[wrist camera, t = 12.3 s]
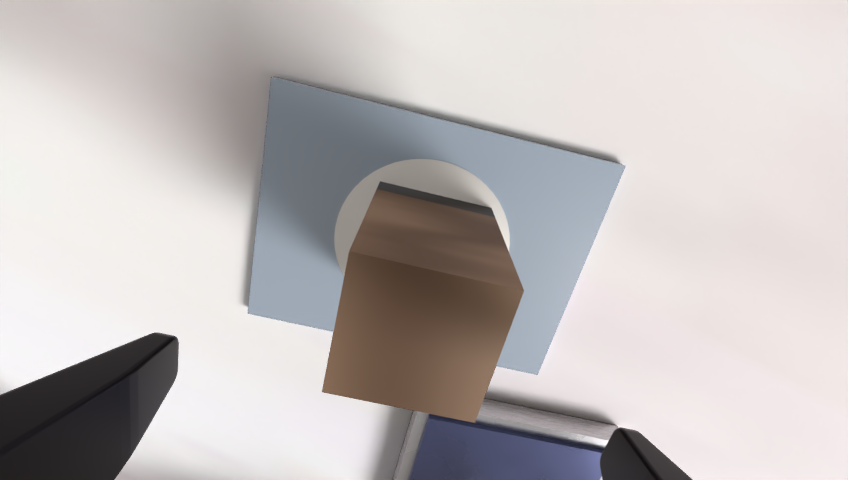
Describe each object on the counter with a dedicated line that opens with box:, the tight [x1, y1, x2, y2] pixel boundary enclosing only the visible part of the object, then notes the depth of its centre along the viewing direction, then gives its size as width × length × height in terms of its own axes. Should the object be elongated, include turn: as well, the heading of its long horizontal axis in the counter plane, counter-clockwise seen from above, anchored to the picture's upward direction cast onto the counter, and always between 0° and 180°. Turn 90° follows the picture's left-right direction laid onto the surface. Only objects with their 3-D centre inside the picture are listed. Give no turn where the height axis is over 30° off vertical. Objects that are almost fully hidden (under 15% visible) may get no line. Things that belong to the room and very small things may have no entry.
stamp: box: [322, 181, 524, 423], centre depth 13 cm, size 4×4×6 cm
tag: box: [248, 77, 625, 375], centre depth 16 cm, size 12×9×1 cm
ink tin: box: [393, 399, 618, 480], centre depth 20 cm, size 9×7×1 cm
